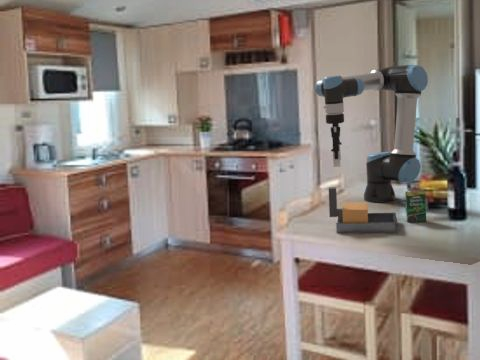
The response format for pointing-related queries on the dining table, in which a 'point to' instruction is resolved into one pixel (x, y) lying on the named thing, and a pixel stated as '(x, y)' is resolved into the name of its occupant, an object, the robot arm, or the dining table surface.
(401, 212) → the dining table surface
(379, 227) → the bay
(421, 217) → the coffee box
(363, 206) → the grey and orange block
